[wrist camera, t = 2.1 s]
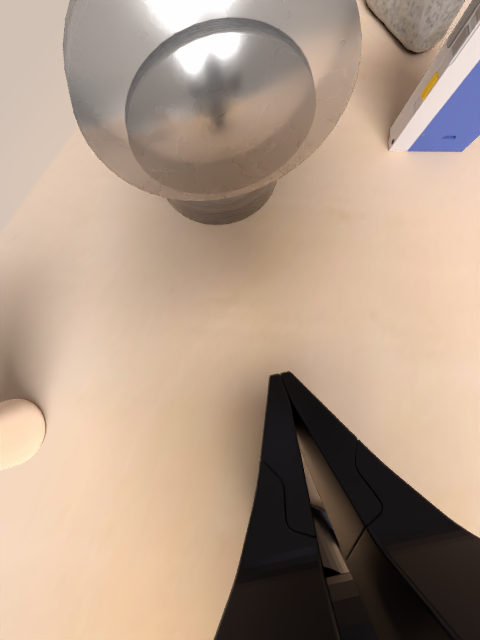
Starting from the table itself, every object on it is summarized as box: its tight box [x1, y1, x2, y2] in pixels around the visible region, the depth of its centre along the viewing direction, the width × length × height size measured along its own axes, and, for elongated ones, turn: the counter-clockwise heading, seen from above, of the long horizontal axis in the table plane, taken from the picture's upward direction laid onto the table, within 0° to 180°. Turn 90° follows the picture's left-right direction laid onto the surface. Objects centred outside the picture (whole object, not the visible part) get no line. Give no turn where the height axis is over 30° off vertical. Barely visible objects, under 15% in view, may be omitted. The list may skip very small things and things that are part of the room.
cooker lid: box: [63, 0, 362, 201], centre depth 13 cm, size 14×14×2 cm
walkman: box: [388, 0, 480, 152], centre depth 20 cm, size 8×3×12 cm, turn 88°
